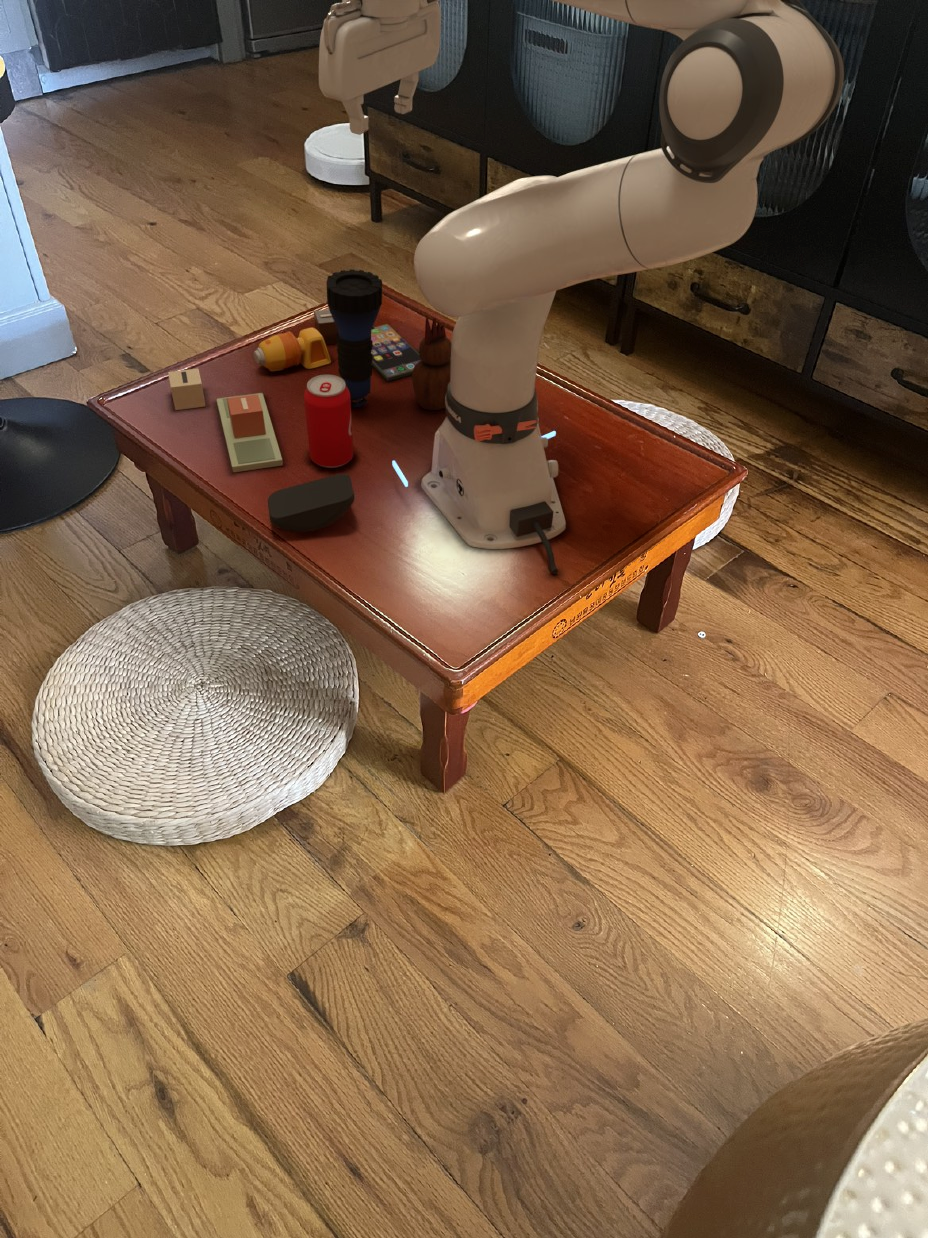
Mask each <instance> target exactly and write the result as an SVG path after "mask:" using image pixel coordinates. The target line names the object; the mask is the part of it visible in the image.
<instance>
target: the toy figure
mask: <svg viewBox="0 0 928 1238" xmlns="http://www.w3.org/2000/svg"><path fill="white" fill-rule="evenodd" d="M253 359H254V361H255V363H256V364H257V365H260V366H263V367H264V368H265V369H268V370H269V371H270V372H276V371H277V372H278V371H284V370H285V369H288V368H292V367H293V366H299V365H300V364H301V365H302V366H303V367H304V368H305V369H309V370H311V369H314V368H318V367H322V366H325V365H329V364H331V363H332V359H331V356H330V353H329V350H328V348H327V345H326V344H325V341H324V339H323V337H322V335H321V334H320V333H319V332H318V331H317V330H316V329H315V327H307V328H303V329H301V330H300V331H299V333H298V337H296V336H295V335H294V334H293V332H292V331H290V330H289V331H285V332H283V333H282V332H281V333H277V334H275V335H272V336H270V337H268V338H266V339H265V340H263V341H261V342H260V343H259V345H258V346H257V348H255V350H254V351H253Z"/></svg>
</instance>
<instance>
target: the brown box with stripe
mask: <svg viewBox="0 0 928 1238" xmlns="http://www.w3.org/2000/svg"><path fill="white" fill-rule="evenodd" d="M313 318H314V320H313V321H314V328H315V329H316V330H317V331H318V332H319V333H320V334H321V335H322V337H323V339H324V341H325V344H326V346H327V345H328V346H329V345H335V344H336V345H337V338H336V336H337V333H338V328H337V326H336V324H335V322H334V320H333V318H332V315H331V313H330V310H329V308H328V309H319V310H314V311H313Z"/></svg>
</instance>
